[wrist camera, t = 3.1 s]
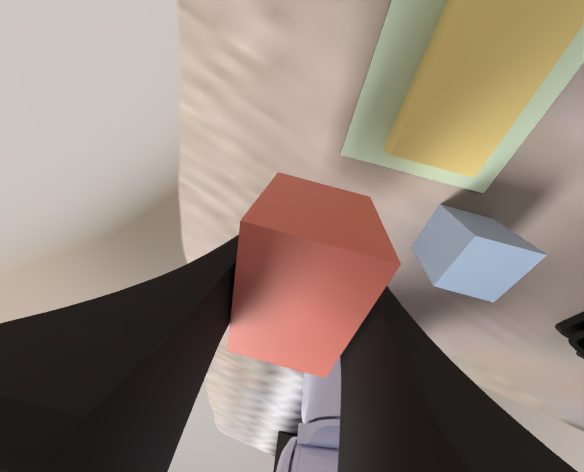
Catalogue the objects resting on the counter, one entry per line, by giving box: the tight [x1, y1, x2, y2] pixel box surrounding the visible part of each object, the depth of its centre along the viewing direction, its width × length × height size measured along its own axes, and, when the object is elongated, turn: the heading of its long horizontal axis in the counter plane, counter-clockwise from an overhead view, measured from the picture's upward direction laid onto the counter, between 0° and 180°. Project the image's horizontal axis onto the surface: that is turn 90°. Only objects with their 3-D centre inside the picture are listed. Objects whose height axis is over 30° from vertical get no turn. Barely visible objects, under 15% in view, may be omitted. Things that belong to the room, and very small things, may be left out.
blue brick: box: [411, 204, 547, 303], centre depth 14 cm, size 4×4×4 cm
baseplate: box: [340, 0, 584, 194], centre depth 12 cm, size 10×10×1 cm
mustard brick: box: [383, 0, 584, 178], centre depth 11 cm, size 8×5×2 cm, turn 167°
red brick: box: [227, 172, 401, 378], centre depth 9 cm, size 6×4×4 cm, turn 167°
